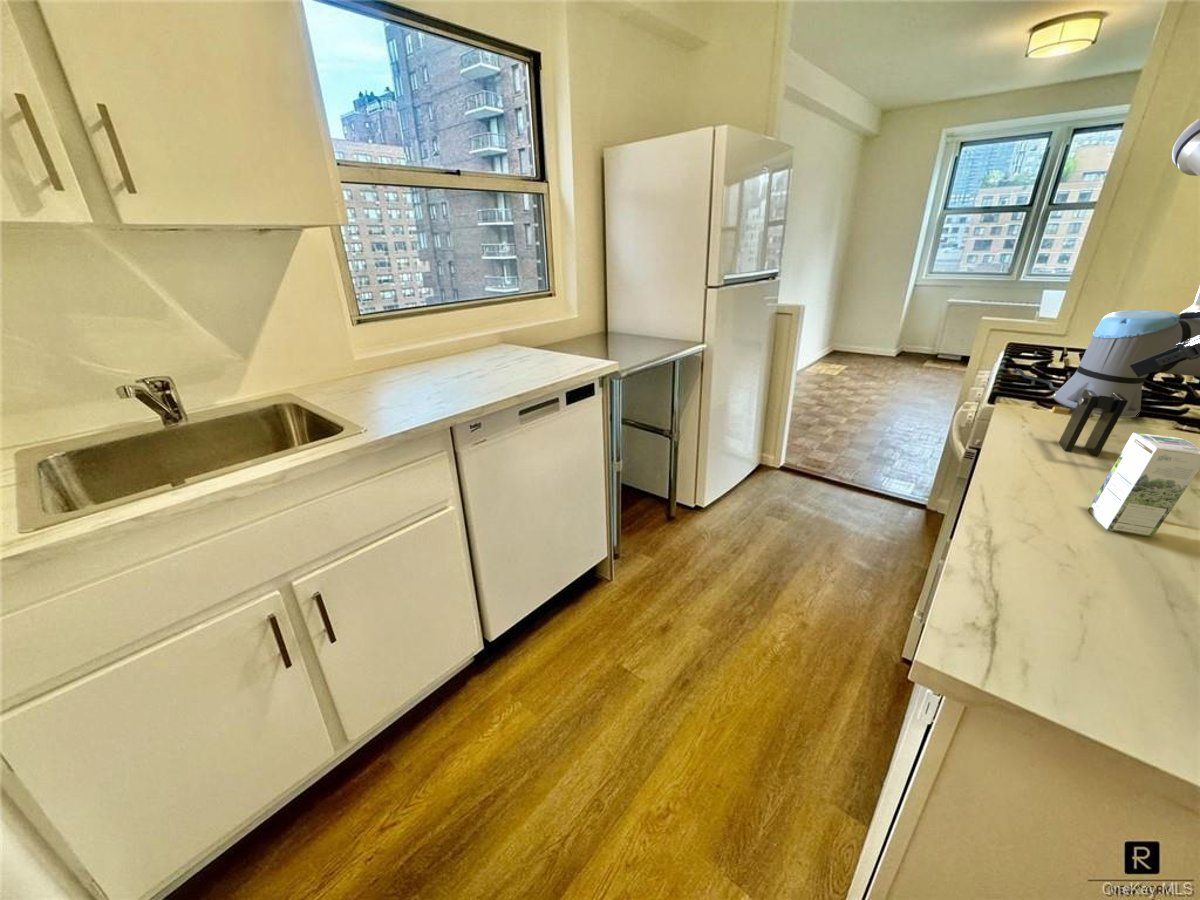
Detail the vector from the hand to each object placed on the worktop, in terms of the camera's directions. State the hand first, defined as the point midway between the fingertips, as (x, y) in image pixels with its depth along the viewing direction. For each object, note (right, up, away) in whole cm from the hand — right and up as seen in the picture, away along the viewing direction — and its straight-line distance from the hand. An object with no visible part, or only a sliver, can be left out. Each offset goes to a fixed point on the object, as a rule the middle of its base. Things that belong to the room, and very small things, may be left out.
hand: (1134, 370), depth 94 cm
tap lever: (-7, -8, +3) cm, 11 cm away
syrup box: (-23, -27, -18) cm, 40 cm away
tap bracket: (-9, -16, +2) cm, 19 cm away
